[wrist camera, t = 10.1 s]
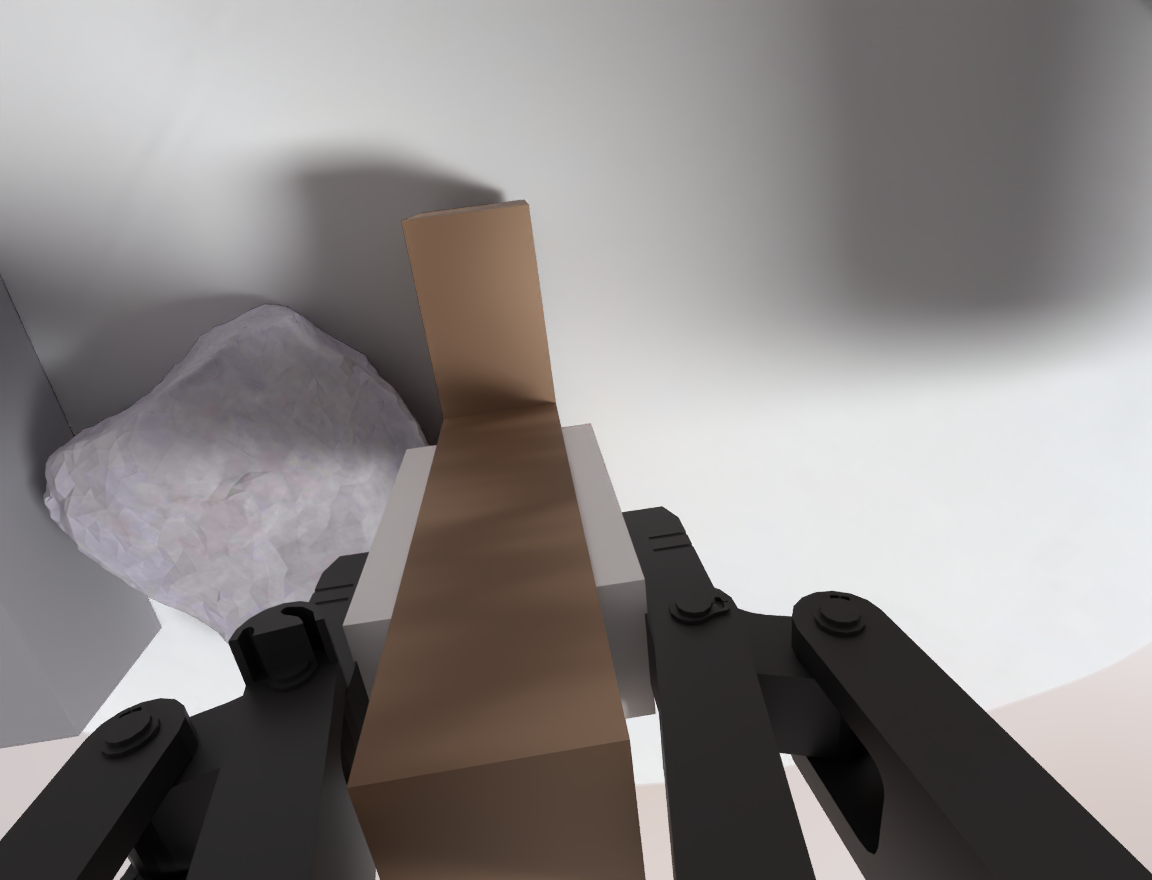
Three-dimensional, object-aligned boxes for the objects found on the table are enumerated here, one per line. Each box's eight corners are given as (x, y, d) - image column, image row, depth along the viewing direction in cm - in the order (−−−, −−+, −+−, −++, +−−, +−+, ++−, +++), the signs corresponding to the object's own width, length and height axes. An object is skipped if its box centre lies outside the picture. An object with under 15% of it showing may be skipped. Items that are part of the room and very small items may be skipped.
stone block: (293, 261, 21) (57, 454, 21) (269, 265, 17) (-31, 511, 16) (515, 499, 26) (326, 660, 25) (542, 552, 21) (313, 747, 21)
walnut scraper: (524, 199, 19) (574, 258, 5) (575, 568, 24) (672, 1112, 10) (422, 212, 18) (170, 311, 5) (495, 580, 23) (480, 1151, 10)
